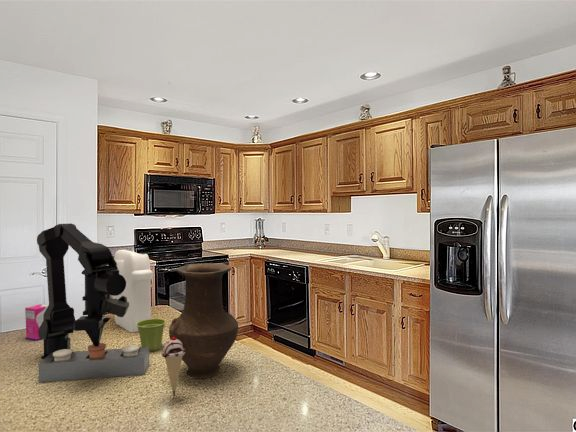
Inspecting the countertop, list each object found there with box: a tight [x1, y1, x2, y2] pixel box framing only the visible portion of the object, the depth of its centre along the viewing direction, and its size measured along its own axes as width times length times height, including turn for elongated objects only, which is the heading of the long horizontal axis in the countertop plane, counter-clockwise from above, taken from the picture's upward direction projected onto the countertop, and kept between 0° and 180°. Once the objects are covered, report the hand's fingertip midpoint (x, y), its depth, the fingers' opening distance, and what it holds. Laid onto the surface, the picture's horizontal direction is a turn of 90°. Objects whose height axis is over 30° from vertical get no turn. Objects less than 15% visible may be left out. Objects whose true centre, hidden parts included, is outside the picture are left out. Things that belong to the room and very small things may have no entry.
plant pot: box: [136, 318, 167, 352], centre depth 129 cm, size 9×9×9 cm
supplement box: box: [24, 303, 49, 342], centre depth 140 cm, size 6×6×12 cm
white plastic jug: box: [111, 249, 154, 333], centre depth 153 cm, size 27×11×30 cm, turn 43°
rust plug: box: [87, 342, 107, 358], centre depth 110 cm, size 5×5×6 cm
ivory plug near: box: [53, 348, 73, 361], centre depth 108 cm, size 5×5×6 cm
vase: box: [168, 263, 239, 379], centre depth 110 cm, size 19×19×30 cm
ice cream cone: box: [161, 337, 186, 397], centre depth 95 cm, size 6×6×15 cm
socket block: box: [37, 346, 150, 383], centre depth 110 cm, size 27×8×5 cm, turn 100°
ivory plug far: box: [121, 344, 140, 356], centre depth 111 cm, size 5×5×6 cm
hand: (96, 345), depth 110 cm, fingers closed, pressing on rust plug
